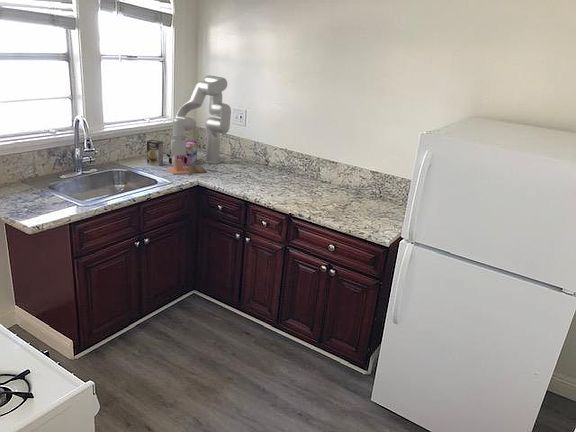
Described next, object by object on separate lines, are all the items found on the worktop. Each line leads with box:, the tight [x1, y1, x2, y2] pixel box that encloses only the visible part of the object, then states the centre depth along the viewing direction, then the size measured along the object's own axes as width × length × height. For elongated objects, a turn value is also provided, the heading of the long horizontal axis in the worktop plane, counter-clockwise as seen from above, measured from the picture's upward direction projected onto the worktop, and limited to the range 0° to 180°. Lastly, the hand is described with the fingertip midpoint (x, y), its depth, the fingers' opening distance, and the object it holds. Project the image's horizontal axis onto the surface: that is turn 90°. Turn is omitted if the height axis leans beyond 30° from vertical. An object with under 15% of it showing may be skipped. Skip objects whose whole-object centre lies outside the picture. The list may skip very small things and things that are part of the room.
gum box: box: [174, 140, 198, 166], centre depth 324 cm, size 24×8×14 cm, turn 171°
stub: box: [167, 158, 191, 176], centre depth 306 cm, size 11×14×7 cm
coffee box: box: [146, 139, 164, 167], centre depth 314 cm, size 9×6×16 cm
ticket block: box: [184, 164, 207, 175], centre depth 312 cm, size 11×14×2 cm
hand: (177, 163), depth 305 cm, fingers open, 9 cm apart
